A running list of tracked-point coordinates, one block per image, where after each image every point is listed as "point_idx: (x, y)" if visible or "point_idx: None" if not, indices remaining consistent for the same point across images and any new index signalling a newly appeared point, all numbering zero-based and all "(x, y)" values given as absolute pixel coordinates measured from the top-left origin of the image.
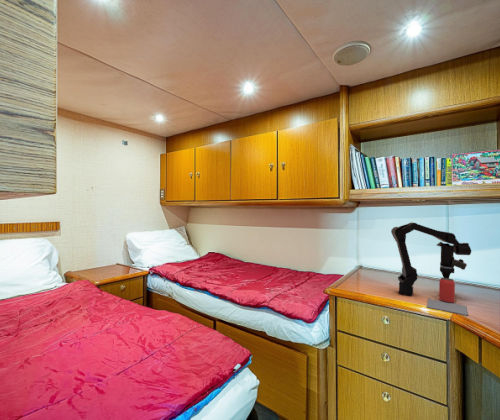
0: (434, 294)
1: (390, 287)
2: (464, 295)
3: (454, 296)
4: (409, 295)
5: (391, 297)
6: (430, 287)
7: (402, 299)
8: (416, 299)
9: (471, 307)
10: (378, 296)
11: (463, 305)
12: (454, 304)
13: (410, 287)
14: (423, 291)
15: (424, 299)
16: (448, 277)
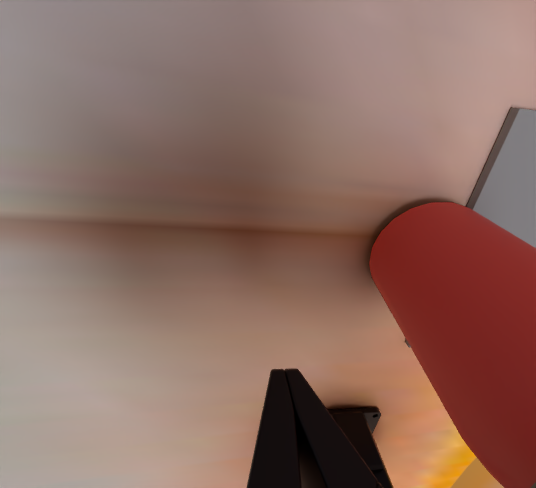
0: (243, 317)
1: (245, 483)
2: (38, 45)
3: (497, 227)
4: (377, 416)
5: (429, 451)
6: (12, 347)
7: (447, 422)
8: (424, 383)
9: (523, 58)
10: (432, 477)
11: (517, 135)
12: (502, 205)
13: (385, 472)
14: (207, 373)
15: (409, 356)
16: (364, 470)
